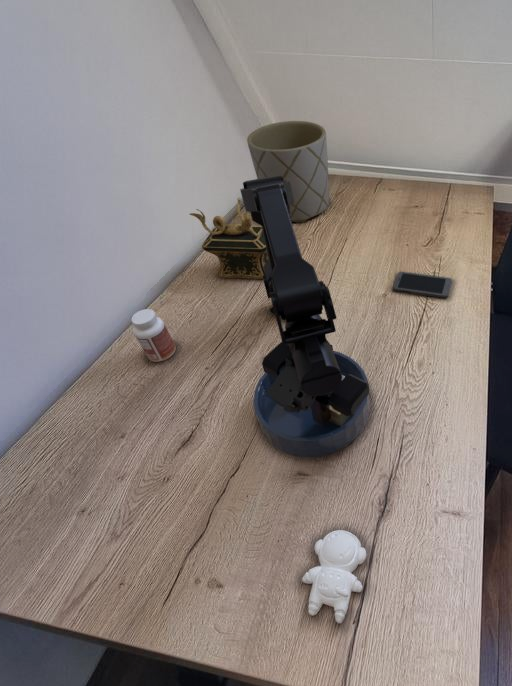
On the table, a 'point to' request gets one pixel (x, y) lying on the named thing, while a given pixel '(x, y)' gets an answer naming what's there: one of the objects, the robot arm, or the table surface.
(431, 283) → the cell phone
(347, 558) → the astronaut figurine
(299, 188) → the planter
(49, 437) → the table surface
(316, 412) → the dark brown wooden bar
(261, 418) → the bowl
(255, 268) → the decorative box
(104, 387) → the table surface
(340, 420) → the maple block
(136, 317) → the pill bottle
